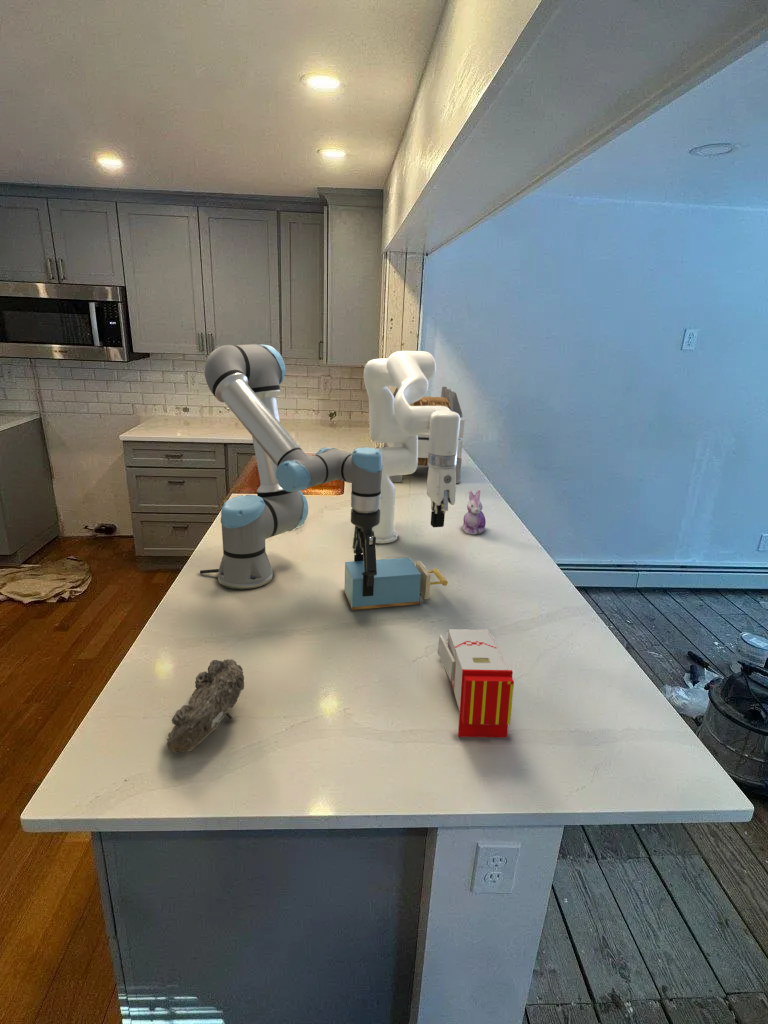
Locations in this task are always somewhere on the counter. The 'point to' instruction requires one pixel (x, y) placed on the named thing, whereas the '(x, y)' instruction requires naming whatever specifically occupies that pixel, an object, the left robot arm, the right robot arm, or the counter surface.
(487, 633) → the toy
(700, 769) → the counter surface
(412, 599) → the cabinet
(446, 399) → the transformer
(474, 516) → the figurine
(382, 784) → the counter surface
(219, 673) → the fossil
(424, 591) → the drawer
